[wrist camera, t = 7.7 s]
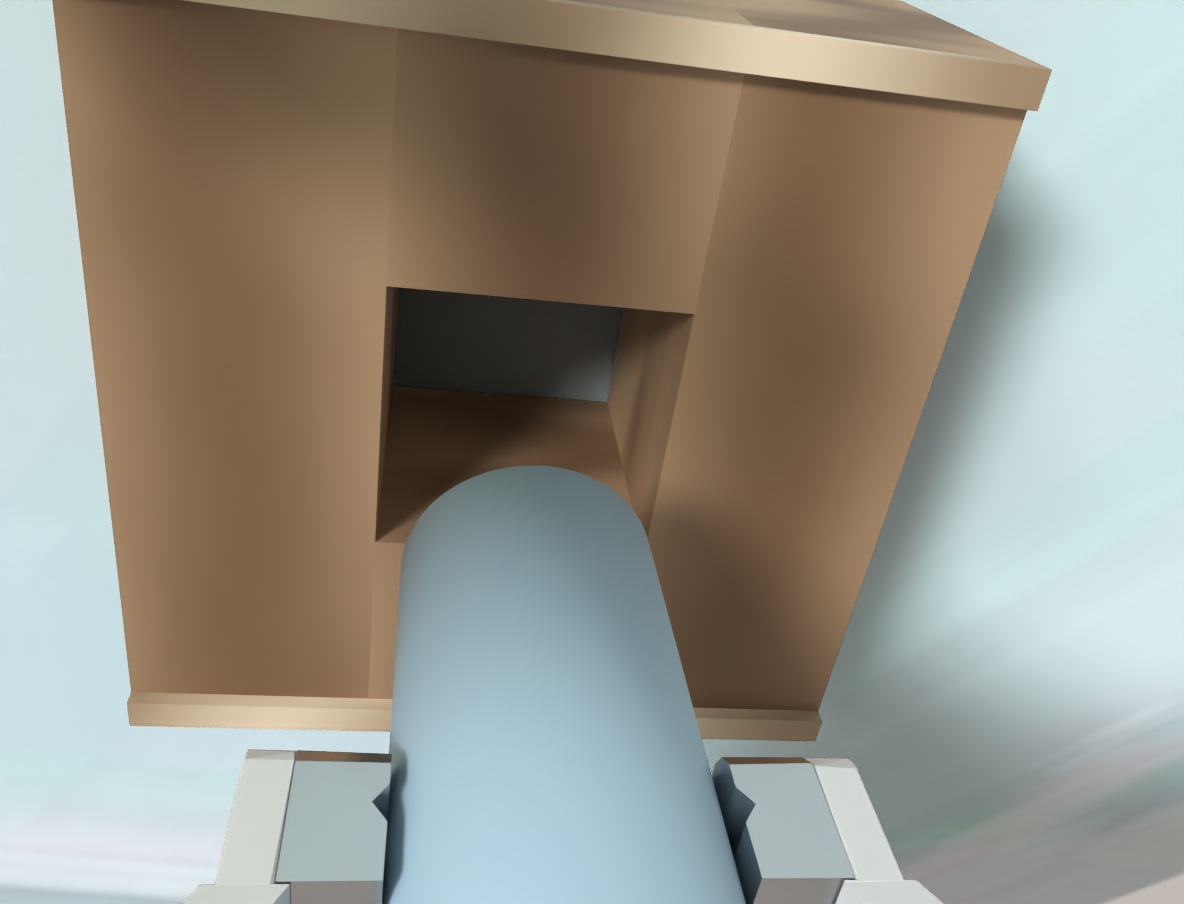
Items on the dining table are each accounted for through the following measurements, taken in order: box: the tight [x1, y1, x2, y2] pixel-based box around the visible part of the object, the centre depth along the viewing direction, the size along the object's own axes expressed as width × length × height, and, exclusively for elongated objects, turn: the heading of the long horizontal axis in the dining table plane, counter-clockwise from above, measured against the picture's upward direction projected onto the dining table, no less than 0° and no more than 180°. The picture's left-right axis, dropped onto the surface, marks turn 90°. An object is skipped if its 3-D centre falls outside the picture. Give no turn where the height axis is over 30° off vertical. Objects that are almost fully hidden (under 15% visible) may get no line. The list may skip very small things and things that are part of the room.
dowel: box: [382, 466, 746, 904], centre depth 11 cm, size 4×4×10 cm
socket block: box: [52, 0, 1052, 741], centre depth 21 cm, size 14×14×6 cm
